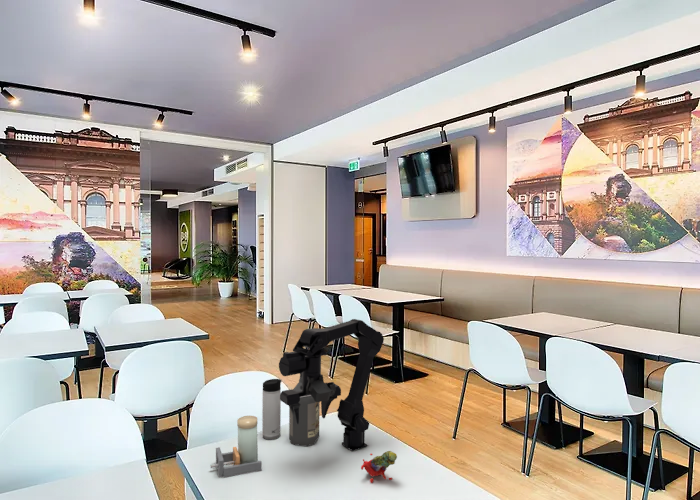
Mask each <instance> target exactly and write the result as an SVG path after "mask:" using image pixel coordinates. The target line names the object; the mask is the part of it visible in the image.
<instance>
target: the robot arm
mask: <svg viewBox="0 0 700 500" xmlns="http://www.w3.org/2000/svg"><path fill="white" fill-rule="evenodd" d="M351 335H354V336H355V337H356V338H357V339H358V340H357V342H358V343H357V347H358V352H359V353H358V358H357V362H356V366H355V370H354V373H353V377H352V379H351V380H352V381H351V384H350V388H349V391H348V395H347V396H346V397H345V398H344V399H342V398H340V401H339V404H338V408H337V410H336V412H337V418H338V420H339V421H340V424H341V425H342V426H344V429H343V430H344V432H343V438H342V439H343V440H342V442H341V445H342V446H344V447H345V448H346V449H348V450H350V451H351V452H354V451H357V450H360V449H364V448H366V447H368V444H367V443H366V442H365V441H366V440H365V439H366V435H365V433H366V431H367V430H369V426H370V422H369V421H368V420H367V419H366V418H365V417H364V415H365V414H364V413H365V407H364V401H363V398H364V394H365V391H366V388H367V384H368V379H369V377H370V372H371V370H372V369H371V368H372V364H373V362H374V358H375V357H376V356H377V355H378V353H380V351H381V350H382V347H383V344H384V340H385V339H384V335H383V333H382V332H381V331H378V330H376V329H375V328H373V327H371V326H370V325H368V324H367V323H366V322H365V321H363V320H361V319H356V318H352V319H350V320H348V321H344V322H341V323H338V324H335V325H331V326H328V327H325V328H319V327H317V328H315V327H314V328H305V329H304V330H302V331H301V334H300V336H299V338H298V340H297V341H296V344H295V345H294V347H293V348H292V351H290V352H289V351H283V352H282V357H281V358H280V360H279V362H278V369H279V372H280V374H281V376H283V377H288V376H290V377H291V376H294V375H299V377H300V376H301V377H302V386H300V389H301V390H302V391H301V392H296V391H294V390H293V389H294V388H292V389H286V390H281V394H280V400H281V402H283V403H284V404H285V405H287V406H288V407H290V409H291V412H292V414H293V417H294V419H295V422H296V424H299V407H300V405H301V404H299V403H298V402H299V401H300V398H305V397H310V396H312V397H313V398H314V401H315V402H320V406H321V407H320V409H321V411H320V413H321V418H322V419H326V416H327V413H328V411H329V408H330V405H331V404H332V402H333V401H334V400H336V399H338V397H340V396H342V389H341V387H340V385H338V384H336V383H335V382H334V381H331V382H324V381H325V380H324V375H323V374H322V357H324V356H327V355H328V352H327V351H325V350H324V348H326V347H327V346H328V345H329V344H330V343H331V342H333V341H335V340H338V339H343V338H346V337H348V336H351Z"/></svg>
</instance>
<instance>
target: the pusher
mask: <svg viewBox="0 0 700 500" xmlns="http://www.w3.org/2000/svg"><path fill="white" fill-rule="evenodd" d="M232 452H233V461H230V462H225V463H224V466H231V465H233V466H234V465H240V456H239V453H238V446H233V447H232ZM209 467H210V469H211V468H213V469H214V468H218V464H216V463H215V464H210V466H209Z"/></svg>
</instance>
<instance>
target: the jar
mask: <svg viewBox="0 0 700 500" xmlns="http://www.w3.org/2000/svg"><path fill="white" fill-rule="evenodd" d="M236 422H237V450H238V453H239V456H240V464H245V463H251V462H256V461H259V460H258V458H259V456H258V455H259V454H258V451H259V450H258V417H257V416H255V415H244V416H240V417H239V418H237V421H236Z"/></svg>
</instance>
